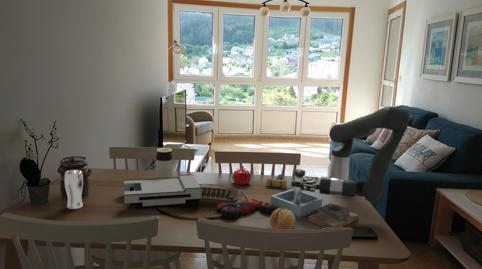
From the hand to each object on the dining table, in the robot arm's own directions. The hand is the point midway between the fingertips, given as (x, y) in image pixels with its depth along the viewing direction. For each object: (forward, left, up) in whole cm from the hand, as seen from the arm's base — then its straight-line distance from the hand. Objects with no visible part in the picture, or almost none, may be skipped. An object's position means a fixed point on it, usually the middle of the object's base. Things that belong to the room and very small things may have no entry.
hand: (292, 181), depth 171 cm
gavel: (-23, -27, -13) cm, 37 cm away
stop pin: (-1, +2, -11) cm, 11 cm away
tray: (-1, +2, -12) cm, 12 cm away
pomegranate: (-5, -37, -12) cm, 39 cm away
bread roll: (+21, +12, -12) cm, 27 cm away
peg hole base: (-3, +20, -12) cm, 24 cm away
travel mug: (+28, -59, -12) cm, 66 cm away
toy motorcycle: (+19, -10, -13) cm, 25 cm away
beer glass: (+73, -57, -12) cm, 93 cm away
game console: (+40, -42, -13) cm, 60 cm away
